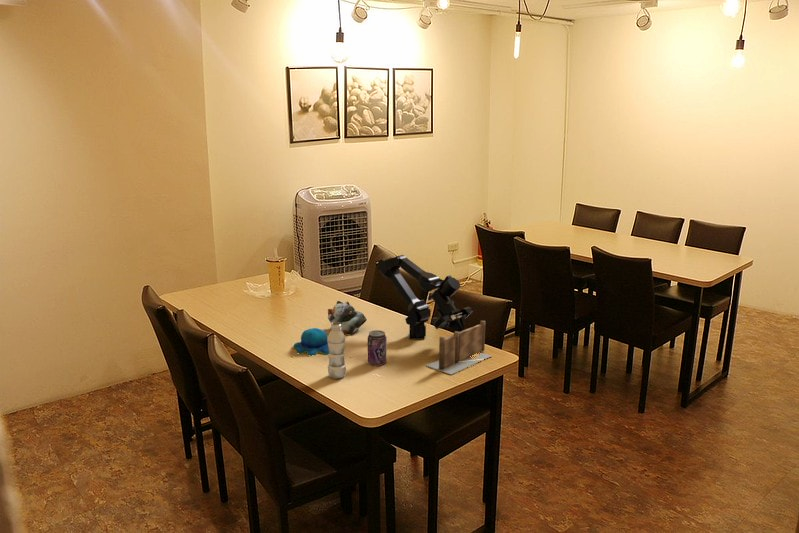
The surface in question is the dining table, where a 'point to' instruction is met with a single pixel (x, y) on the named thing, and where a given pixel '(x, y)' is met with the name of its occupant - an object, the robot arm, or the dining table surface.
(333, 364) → the plastic bottle
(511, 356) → the dining table surface
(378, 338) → the beverage can
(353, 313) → the grey stuffed animal
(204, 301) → the dining table surface
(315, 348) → the plush toy
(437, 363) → the card
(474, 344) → the fence panel
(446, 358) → the fence fixed
